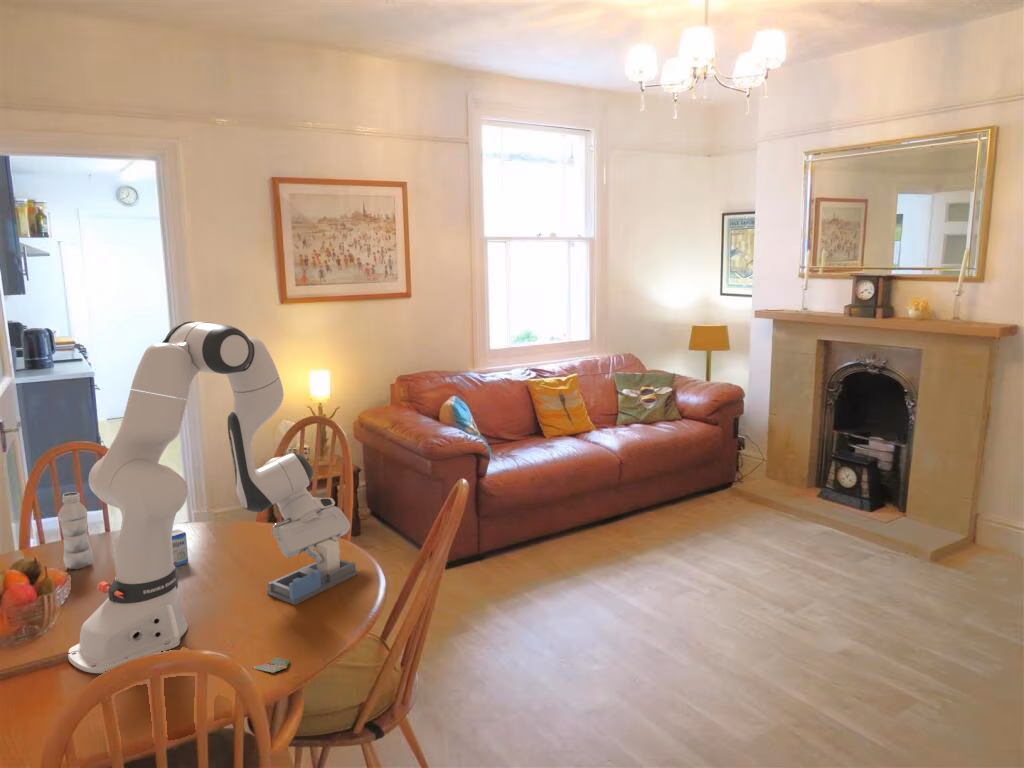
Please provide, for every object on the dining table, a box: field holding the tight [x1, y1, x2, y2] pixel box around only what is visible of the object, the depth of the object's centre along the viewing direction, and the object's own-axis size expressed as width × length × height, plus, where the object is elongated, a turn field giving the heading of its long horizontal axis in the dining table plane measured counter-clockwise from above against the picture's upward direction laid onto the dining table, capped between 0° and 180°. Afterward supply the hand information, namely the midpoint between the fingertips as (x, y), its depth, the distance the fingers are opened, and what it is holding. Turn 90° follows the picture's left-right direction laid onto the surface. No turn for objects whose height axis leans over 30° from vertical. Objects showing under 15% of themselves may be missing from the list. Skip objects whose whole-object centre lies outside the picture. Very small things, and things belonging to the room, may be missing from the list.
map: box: [251, 656, 291, 673], centre depth 145 cm, size 5×20×1 cm, turn 65°
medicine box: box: [172, 529, 189, 568], centre depth 187 cm, size 8×4×9 cm, turn 143°
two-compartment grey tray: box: [266, 558, 358, 606], centre depth 177 cm, size 20×11×6 cm, turn 146°
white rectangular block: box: [315, 539, 341, 574], centre depth 181 cm, size 4×4×8 cm
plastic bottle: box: [57, 491, 94, 570], centre depth 185 cm, size 6×7×20 cm
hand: (329, 558), depth 180 cm, fingers closed on white rectangular block, 4 cm apart
